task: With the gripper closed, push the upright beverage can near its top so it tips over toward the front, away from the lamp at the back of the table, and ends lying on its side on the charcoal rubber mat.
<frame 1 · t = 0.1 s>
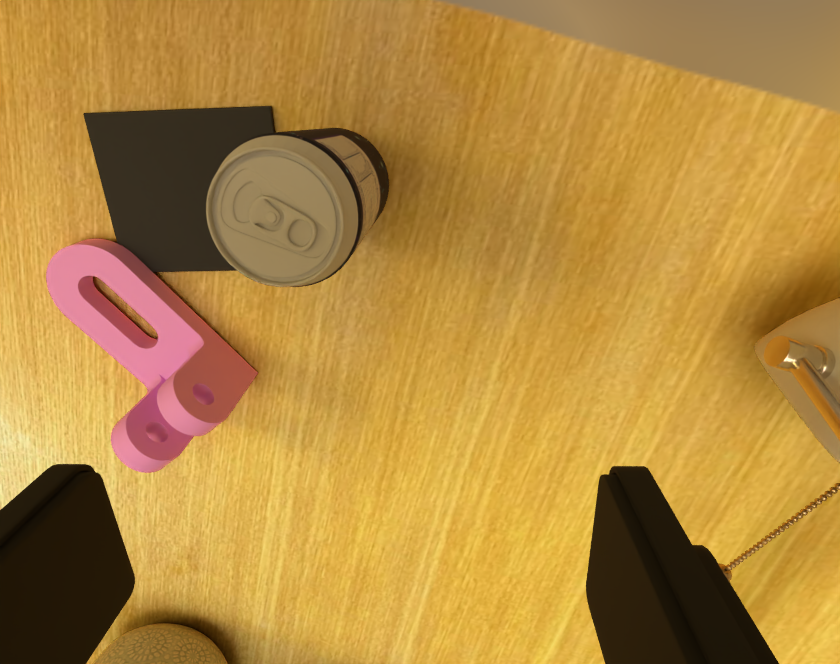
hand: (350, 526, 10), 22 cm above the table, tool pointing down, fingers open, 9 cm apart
rubber mat: (194, 194, 30), on the table
lamp: (754, 556, 38), on the table
beverage can: (341, 181, 29), on the table
bracket: (156, 324, 33), on the table, touching rubber mat
planter: (180, 649, 45), on the table
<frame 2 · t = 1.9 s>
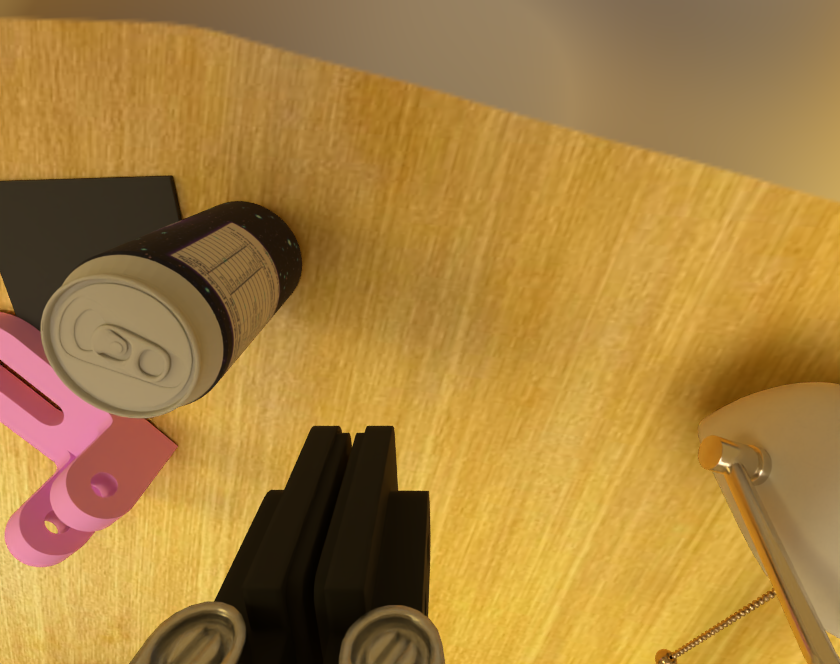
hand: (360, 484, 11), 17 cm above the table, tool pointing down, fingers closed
rubber mat: (96, 265, 27), on the table
lamp: (709, 626, 36), on the table
beverage can: (253, 252, 27), on the table
bracket: (66, 397, 31), on the table, touching rubber mat
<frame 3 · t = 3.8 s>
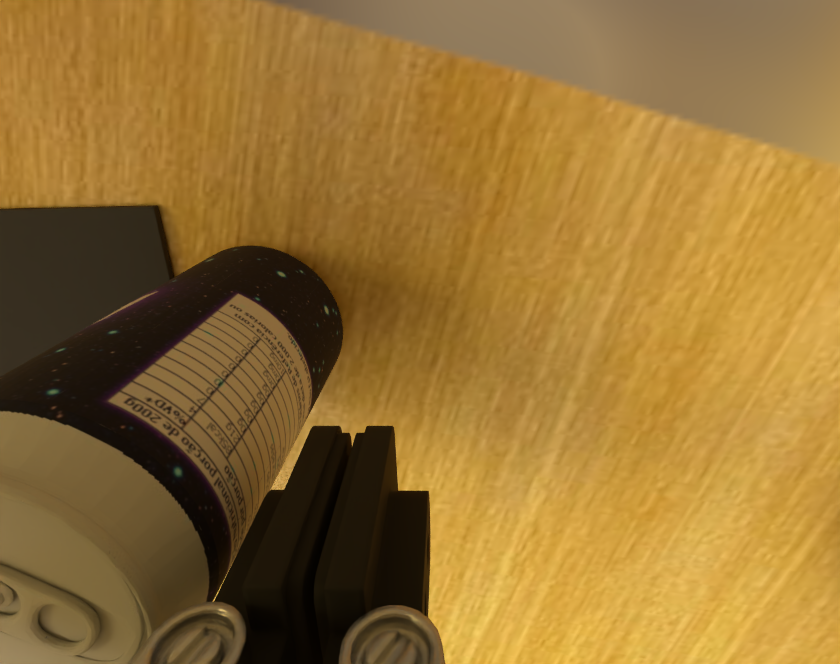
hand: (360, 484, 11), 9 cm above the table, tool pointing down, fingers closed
rubber mat: (51, 328, 19), on the table
beverage can: (273, 314, 19), on the table, touching gripper
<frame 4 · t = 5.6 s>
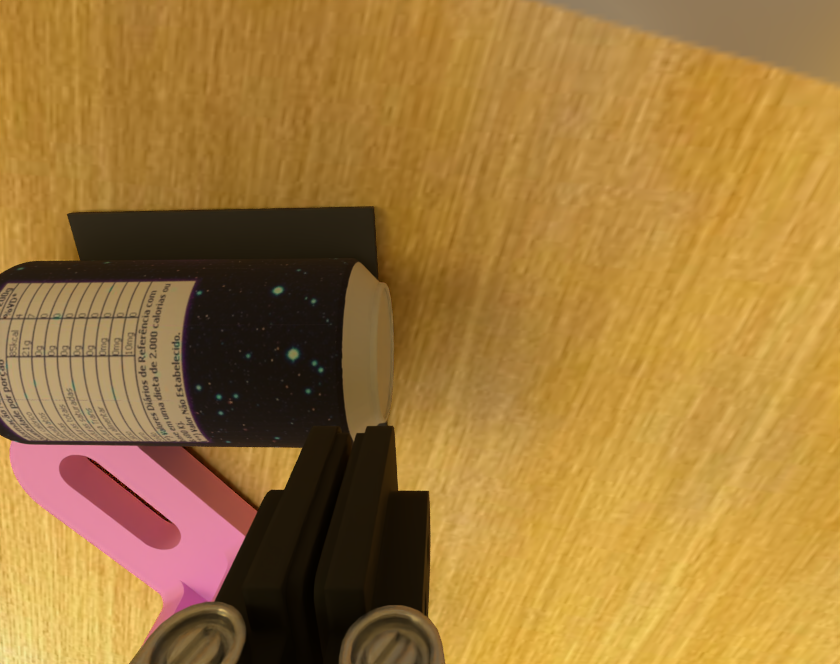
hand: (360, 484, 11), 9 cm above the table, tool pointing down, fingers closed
rubber mat: (242, 332, 19), on the table
beverage can: (393, 352, 15), point 3 cm above the table, touching rubber mat
bracket: (177, 504, 22), on the table, touching rubber mat
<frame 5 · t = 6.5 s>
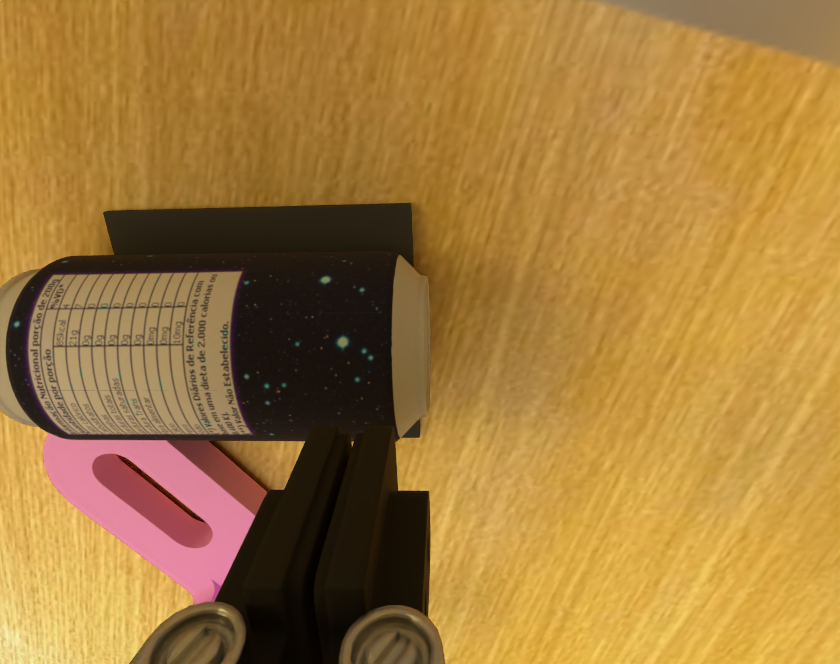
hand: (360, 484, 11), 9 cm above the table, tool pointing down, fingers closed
rubber mat: (275, 330, 19), on the table
beverage can: (434, 345, 15), point 3 cm above the table, touching rubber mat
bracket: (206, 503, 22), on the table, touching rubber mat
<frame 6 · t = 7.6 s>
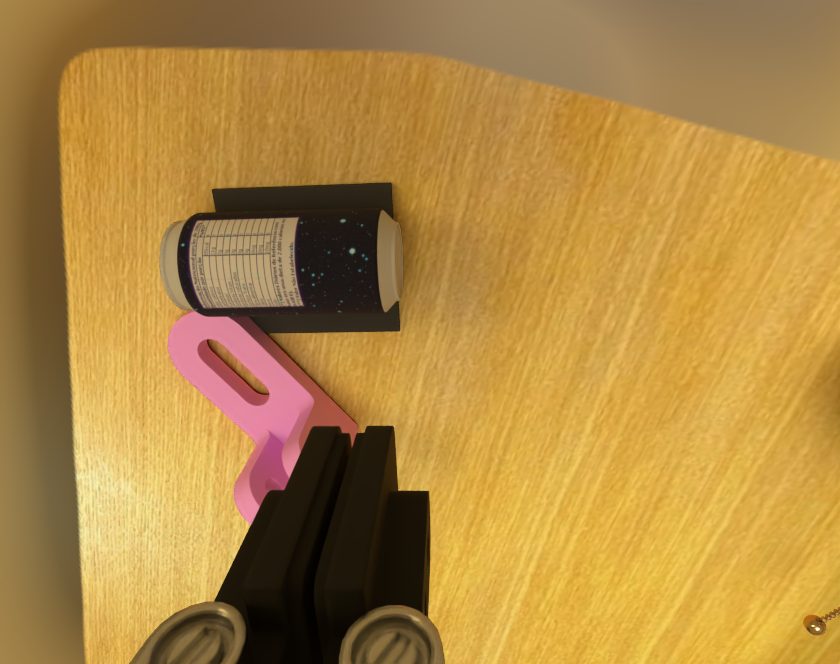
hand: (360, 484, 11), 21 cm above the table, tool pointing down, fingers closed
rubber mat: (310, 262, 31), on the table
lamp: (834, 601, 39), on the table
beverage can: (403, 261, 28), point 3 cm above the table, touching rubber mat
bracket: (263, 381, 34), on the table, touching rubber mat
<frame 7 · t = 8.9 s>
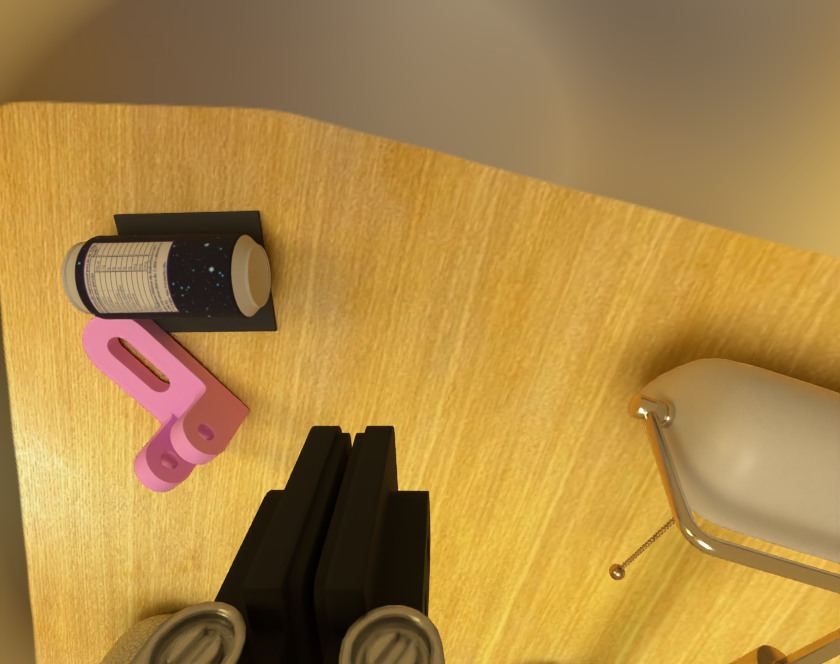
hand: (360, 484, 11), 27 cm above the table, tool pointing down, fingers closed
rubber mat: (199, 274, 38), on the table
lamp: (658, 558, 46), on the table
beverage can: (263, 276, 34), point 3 cm above the table, touching rubber mat
bracket: (168, 372, 41), on the table, touching rubber mat
planter: (185, 635, 53), on the table
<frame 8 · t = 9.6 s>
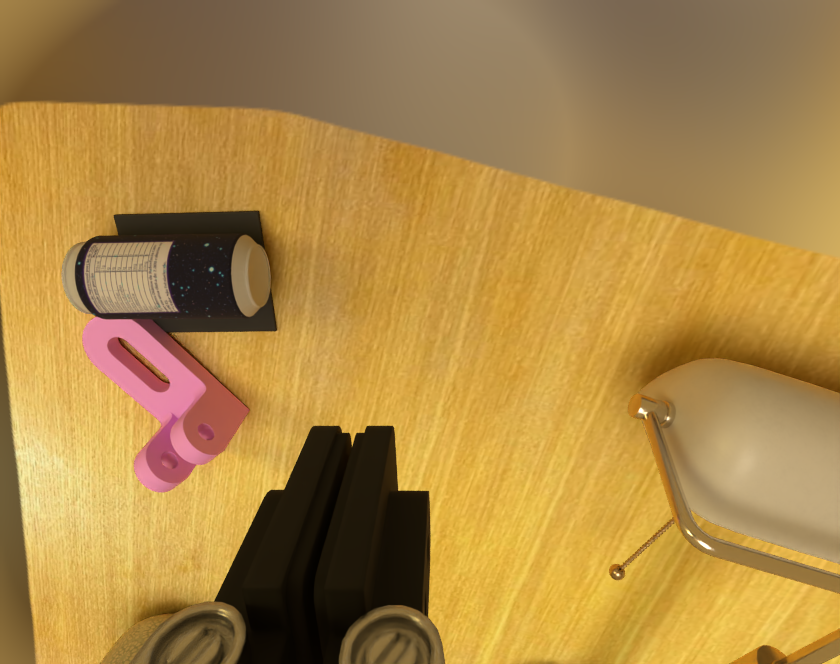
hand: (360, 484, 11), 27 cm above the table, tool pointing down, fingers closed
rubber mat: (199, 274, 38), on the table
lamp: (658, 558, 46), on the table
beverage can: (263, 276, 34), point 3 cm above the table, touching rubber mat
bracket: (168, 372, 41), on the table, touching rubber mat
planter: (185, 635, 53), on the table
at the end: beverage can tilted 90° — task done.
